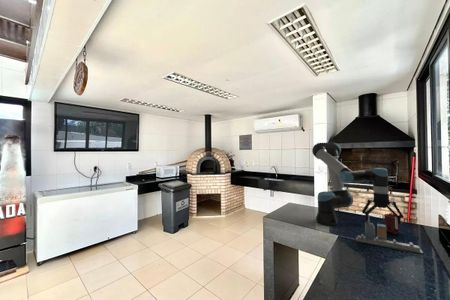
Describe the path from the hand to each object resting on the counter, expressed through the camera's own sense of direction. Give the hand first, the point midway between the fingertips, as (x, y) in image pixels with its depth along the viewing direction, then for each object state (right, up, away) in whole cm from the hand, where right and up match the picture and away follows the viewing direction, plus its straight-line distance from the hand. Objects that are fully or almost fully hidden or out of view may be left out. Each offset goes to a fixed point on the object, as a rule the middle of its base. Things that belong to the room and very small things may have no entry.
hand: (382, 226), depth 121 cm
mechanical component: (+15, -8, +10) cm, 20 cm away
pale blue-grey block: (0, -8, 0) cm, 8 cm away
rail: (-3, -8, -7) cm, 11 cm away
